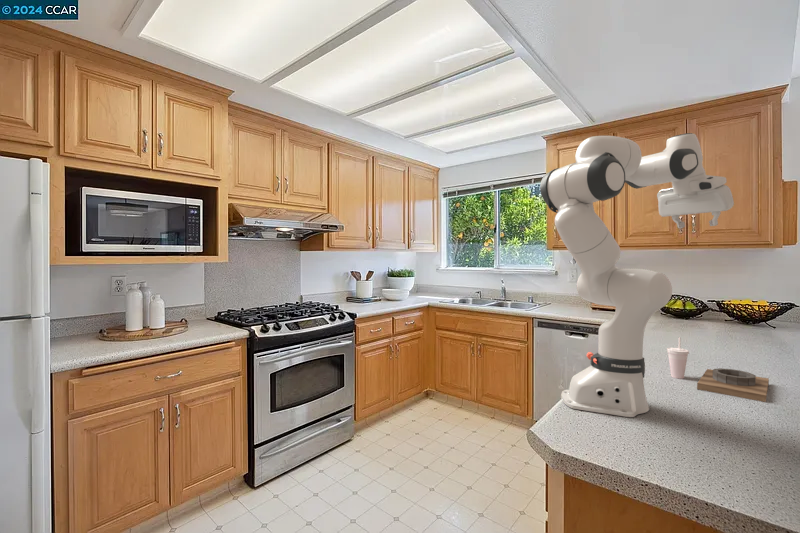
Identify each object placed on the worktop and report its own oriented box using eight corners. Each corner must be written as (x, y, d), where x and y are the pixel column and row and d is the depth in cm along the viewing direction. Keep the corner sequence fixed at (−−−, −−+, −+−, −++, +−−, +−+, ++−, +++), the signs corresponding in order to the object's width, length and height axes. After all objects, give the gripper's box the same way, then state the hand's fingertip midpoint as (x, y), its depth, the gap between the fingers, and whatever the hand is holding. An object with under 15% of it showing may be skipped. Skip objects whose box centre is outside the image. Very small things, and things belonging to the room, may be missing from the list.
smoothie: (692, 380, 133) (693, 339, 133) (671, 379, 134) (672, 338, 134) (683, 374, 139) (683, 335, 139) (663, 373, 141) (663, 335, 140)
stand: (766, 402, 113) (766, 386, 113) (697, 389, 124) (697, 375, 124) (768, 384, 128) (768, 370, 128) (707, 374, 140) (707, 361, 140)
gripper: (650, 192, 132) (658, 231, 134) (721, 181, 114) (729, 227, 116) (661, 187, 135) (669, 226, 137) (732, 176, 116) (739, 221, 118)
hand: (697, 226), depth 126 cm, fingers open, 8 cm apart
